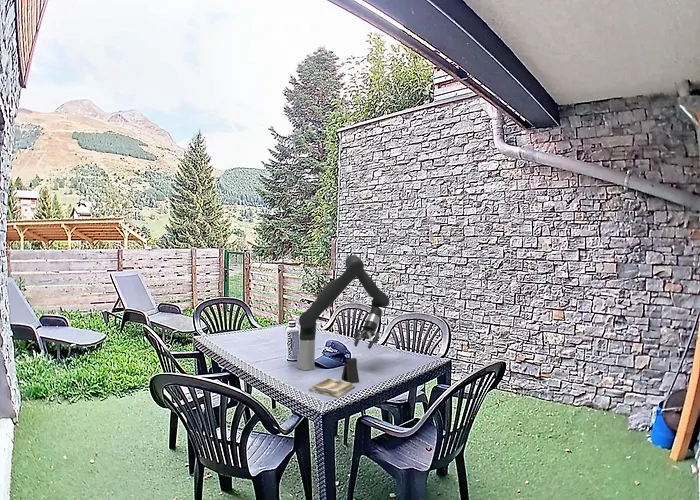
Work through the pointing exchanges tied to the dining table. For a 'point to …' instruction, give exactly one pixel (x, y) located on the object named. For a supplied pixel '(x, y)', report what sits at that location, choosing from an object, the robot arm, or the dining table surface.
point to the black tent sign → (350, 371)
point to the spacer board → (332, 387)
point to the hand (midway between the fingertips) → (362, 347)
